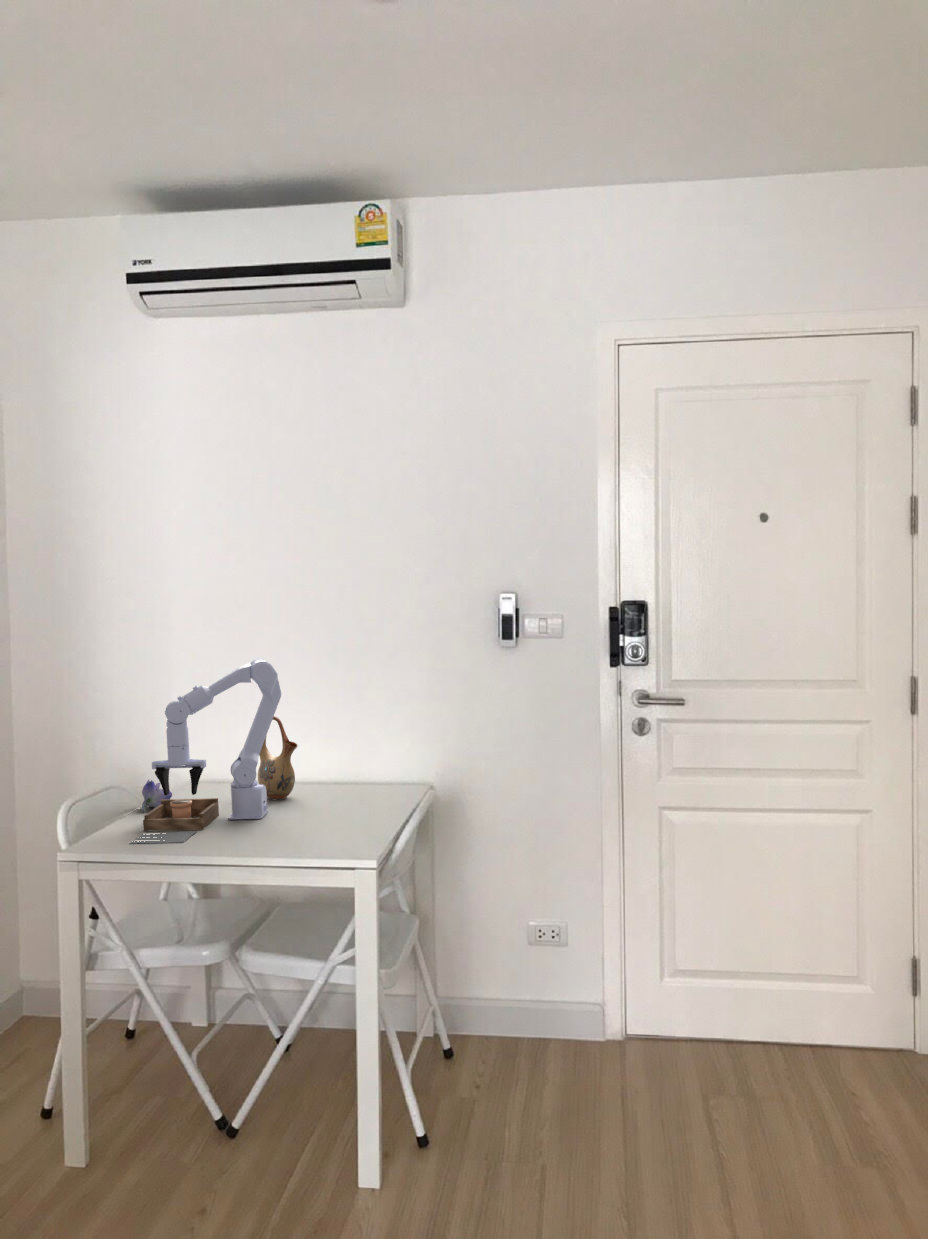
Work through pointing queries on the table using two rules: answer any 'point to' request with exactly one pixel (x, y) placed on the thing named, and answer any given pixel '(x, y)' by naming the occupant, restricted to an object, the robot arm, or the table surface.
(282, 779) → the ceramic vessel
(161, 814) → the frame
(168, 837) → the slate mat
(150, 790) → the flower
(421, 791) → the table surface
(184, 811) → the terracotta pot
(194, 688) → the robot arm
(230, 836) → the table surface
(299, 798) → the table surface
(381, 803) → the table surface
